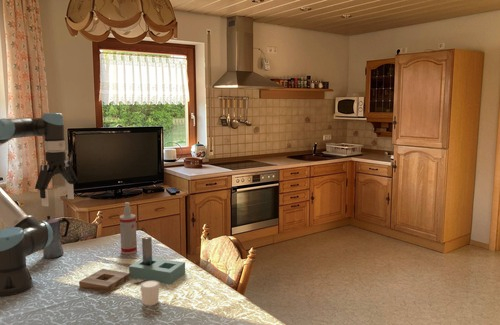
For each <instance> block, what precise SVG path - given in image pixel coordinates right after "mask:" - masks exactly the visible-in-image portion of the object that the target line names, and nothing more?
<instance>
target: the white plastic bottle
mask: <svg viewBox="0 0 500 325" xmlns="http://www.w3.org/2000/svg"><path fill="white" fill-rule="evenodd" d="M130 205H131V204H130V202H129V201H126V202H124V209H123V214H121V215H119V229H120V230H119V231H120V249H121V250H120V252H121V254H122V253H123V255H131V254H135V253H137V252H138V244H137V243H138V241H137V239H138V238H137V222H136V221H137V219H136V217H137V216H136V214H133V213H132V211H131V206H130Z"/></svg>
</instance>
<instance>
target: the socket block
mask: <svg viewBox="0 0 500 325" xmlns="http://www.w3.org/2000/svg"><path fill="white" fill-rule="evenodd" d="M130 279H131V278H130V273H129V272H126V271H119V270H113V269H107V268H106V269H105V268H100V270H97V271H96V272H93V273H92V274H90V275H88V276H86V277H85V278H83V279H81V280H79V281H78V285H79V286H78V287H79V288H81V289H86V290H92V291H96V292H104V293H110V292H112V291H113V290H114V289H116V288H118V287H120V286H121V285H122V284H124V283H126V282H127V281H129V280H130Z"/></svg>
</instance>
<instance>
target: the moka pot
mask: <svg viewBox="0 0 500 325" xmlns="http://www.w3.org/2000/svg"><path fill="white" fill-rule="evenodd" d="M42 221H45V222H47V223H48V224H49V225H50V226H51V228H52V231H53V234H52V235H53V238H52V241H51V243H50V244H49V245H48V246H47V247H45V248H44V249H42V250H43V251H42V252H43V255H42V256H43V258H44V259H54V258H58V257H61V256H62V255H64V249H63V246H62V242H61V240H60V237H61V238H66V237H67V235H68V231H69V229H70V228H69V227H70V223H71V222H70V221H69V220H68V219H67V218H66V217H64V218H51V215H47V216H46V219H43V220H42ZM62 223H66V224H65V225H66V226H65V231H64V234H63V235H61V224H62ZM60 235H61V236H60Z"/></svg>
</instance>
